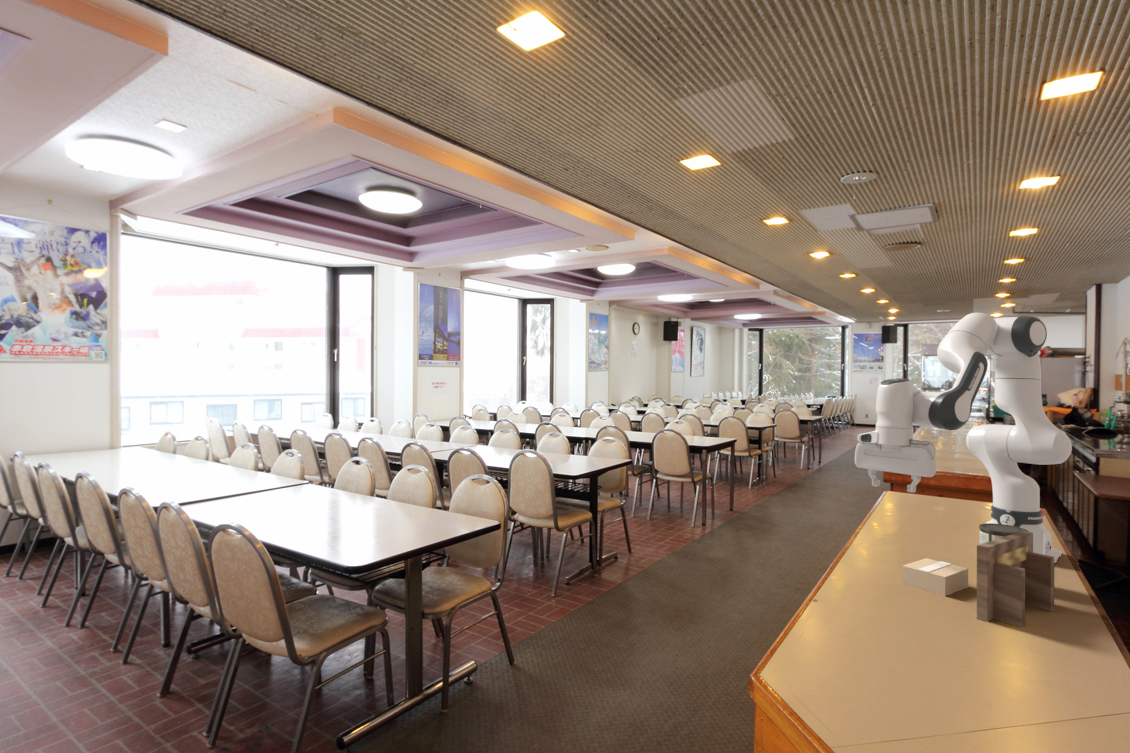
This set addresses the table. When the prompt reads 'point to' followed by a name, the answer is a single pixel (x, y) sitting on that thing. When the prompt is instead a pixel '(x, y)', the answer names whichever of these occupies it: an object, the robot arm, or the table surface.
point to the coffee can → (996, 531)
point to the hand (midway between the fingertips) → (893, 489)
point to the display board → (1013, 579)
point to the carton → (935, 576)
